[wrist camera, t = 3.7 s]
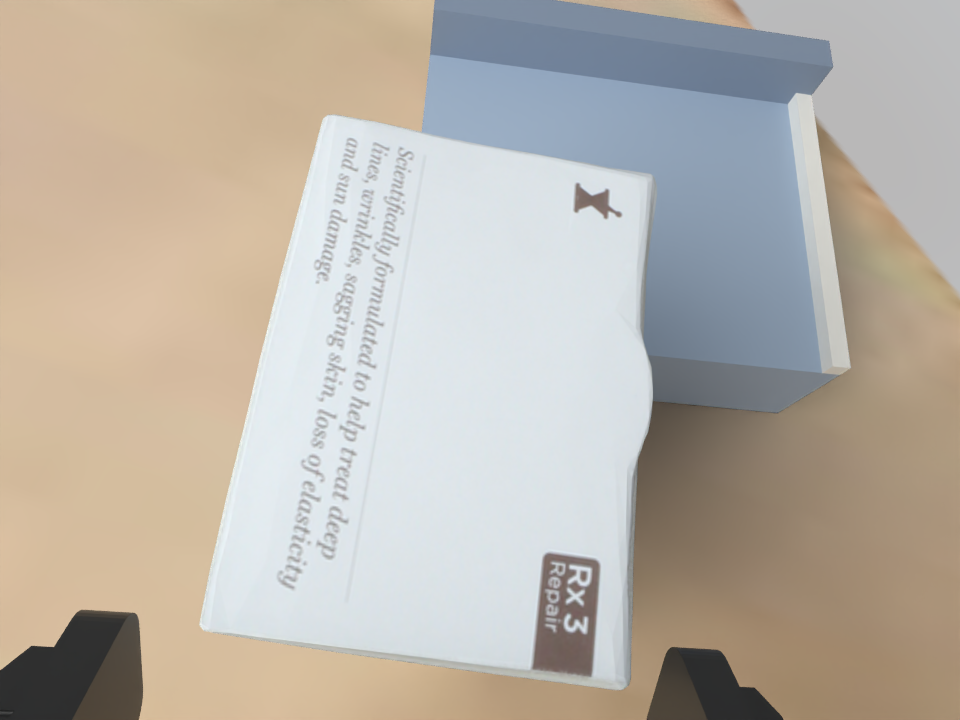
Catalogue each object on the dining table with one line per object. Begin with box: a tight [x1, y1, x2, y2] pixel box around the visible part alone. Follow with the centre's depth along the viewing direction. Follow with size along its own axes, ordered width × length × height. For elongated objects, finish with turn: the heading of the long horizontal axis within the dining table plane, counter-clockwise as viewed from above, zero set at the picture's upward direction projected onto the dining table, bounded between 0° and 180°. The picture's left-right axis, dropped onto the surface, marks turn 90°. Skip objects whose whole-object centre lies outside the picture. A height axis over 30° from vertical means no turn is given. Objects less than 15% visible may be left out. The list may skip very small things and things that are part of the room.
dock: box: [422, 0, 851, 413], centre depth 26 cm, size 14×12×6 cm
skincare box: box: [200, 115, 657, 690], centre depth 17 cm, size 8×6×15 cm
